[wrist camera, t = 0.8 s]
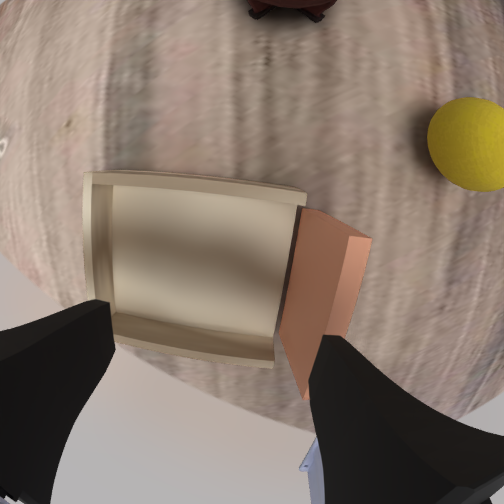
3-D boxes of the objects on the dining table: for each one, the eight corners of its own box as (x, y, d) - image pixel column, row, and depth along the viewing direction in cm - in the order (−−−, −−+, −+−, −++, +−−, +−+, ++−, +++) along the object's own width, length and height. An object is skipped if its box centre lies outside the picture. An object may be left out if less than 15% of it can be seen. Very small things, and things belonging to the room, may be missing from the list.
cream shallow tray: (270, 332, 19) (273, 368, 16) (117, 307, 19) (93, 335, 15) (296, 187, 16) (307, 193, 13) (117, 169, 16) (83, 172, 12)
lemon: (439, 200, 16) (520, 225, 9) (391, 140, 15) (472, 131, 8) (474, 150, 15) (552, 156, 7) (432, 92, 14) (509, 69, 6)
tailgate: (278, 332, 18) (302, 399, 12) (302, 207, 15) (349, 235, 10) (293, 333, 18) (321, 398, 12) (318, 210, 15) (372, 238, 10)
